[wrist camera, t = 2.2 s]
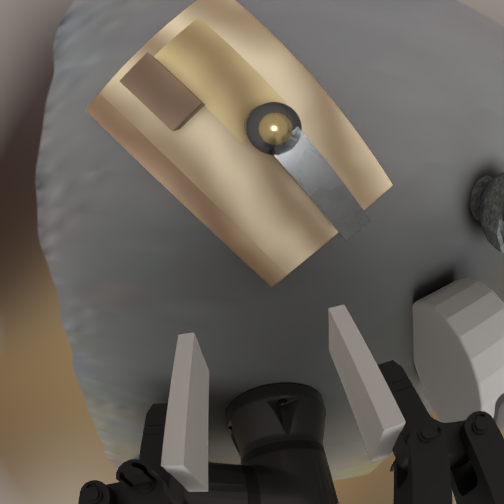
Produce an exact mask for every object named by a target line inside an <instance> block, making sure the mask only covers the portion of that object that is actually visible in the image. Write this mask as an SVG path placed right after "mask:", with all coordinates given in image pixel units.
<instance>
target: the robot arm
mask: <svg viewBox="0 0 504 504" xmlns="http://www.w3.org/2000/svg"><path fill="white" fill-rule="evenodd" d="M328 309H329V352H330V354H331V357H332V359H333V362H334V364H335V367H336V370H337V372H338V375H339V377H340V380H341V382H342V385H343V388H344V390H345V393H346V395H347V398H348V401H349V403H350V406H351V409H352V411H353V414H354V417H355V419H356V422H357V425H358V427H359V430H360V433H361V436H362V438H363V441H364V444H365V447H366V449H367V452H368V455H369V458H370V461H371V462H374V461H377V460H380V459H383V458H386V457H388V456H390V454H391V452H392V450H393V453H394V455H395V457H396V459H395V461H394V462H393V464H392V466H391V470H390V471H393V470H394V504H452V491H453V493H454V496H455V500H456V503H457V504H504V439H503V436H502V434H501V432H500V430H499V428H498V426H497V424H496V423H495V421H494V419H493V418H492V416H491V415H490V414H488V413H487V412H485V411H476V412H473V413H472V414H470V415H469V416H468V418H467V419H466V420H463V421H457V422H450V423H443V422H439V421H437V420H434V419H433V418H432V417H431V416H430V415H429V413H428V412H427V410H426V408H425V406H424V405H423V403H422V401H421V399H420V397H419V396H418V394H417V392H416V390H415V388H414V387H413V386H412V383H411V381H410V380H409V379H408V376H407V375H406V373H405V371H404V369H403V368H402V367H401V366H400V365H398V364H397V363H396V362H394V361H393V360H392V361H389V362H386V363H383V364H379V365H377V364H376V362H375V360H374V358H373V356H372V354H371V352H370V350H369V349H368V347H367V345H366V343H365V341H364V339H363V337H362V336H361V334H360V332H359V330H358V328H357V326H356V325H355V323H354V321H353V319H352V317H351V316H350V314H349V312H348V310H347V308H346V307H345V305H340V306H336V307H331V308H328ZM208 410H209V370H208V367H207V365H206V362H205V360H204V357H203V354H202V352H201V349H200V346H199V344H198V341H197V338H196V335H195V333H187V334H180V335H178V340H177V346H176V353H175V359H174V365H173V372H172V379H171V386H170V393H169V400H168V403H165V404H153V405H152V406H151V408H150V409H149V411H148V412H147V414H146V419H145V427H144V431H143V437H142V443H141V450H140V455H138V456H137V457H136V458H135V459H132V460H128V461H126V462H124V463H123V464H122V465H121V466H120V467H119V468H118V470H117V472H116V479H117V480H118V481H120V482H118V483H113V484H108V485H105V484H104V483H102V482H100V481H97V480H94V481H89V482H87V483H86V484H84V486H83V487H82V488H81V491H80V496H79V504H340V502H338V499H337V495H336V491H335V488H334V484H333V480H332V476H331V473H330V469H329V465H328V462H327V458H326V455H325V451H324V447H323V436H324V427H325V416H326V411H325V406H324V403H323V400H322V397H321V395H320V394H319V393H318V392H317V391H316V390H314V389H312V388H310V387H308V386H304V385H300V384H291V383H282V384H272V385H266V386H262V387H258V388H255V389H253V390H250V391H248V392H246V393H244V394H242V395H240V396H239V397H237V398H236V399H235V400H234V401H233V402H232V403H231V404H230V405H229V407H228V409H227V413H226V418H227V429H228V431H229V433H230V435H231V437H232V440H233V442H234V444H235V446H236V449H237V451H238V453H239V455H240V457H241V465H234V464H222V463H213V462H208Z"/></svg>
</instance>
